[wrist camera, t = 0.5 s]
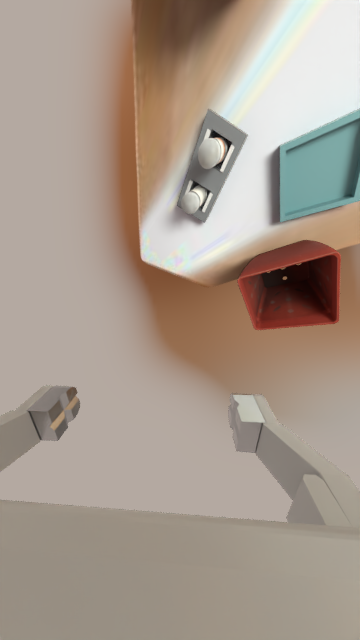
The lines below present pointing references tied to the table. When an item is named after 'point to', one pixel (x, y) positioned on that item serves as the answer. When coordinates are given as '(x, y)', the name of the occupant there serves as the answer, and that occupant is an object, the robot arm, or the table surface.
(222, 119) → the fuse block
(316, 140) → the tray
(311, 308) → the plant pot
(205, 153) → the grey capped cylinder
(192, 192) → the fuse
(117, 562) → the robot arm
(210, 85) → the table surface
